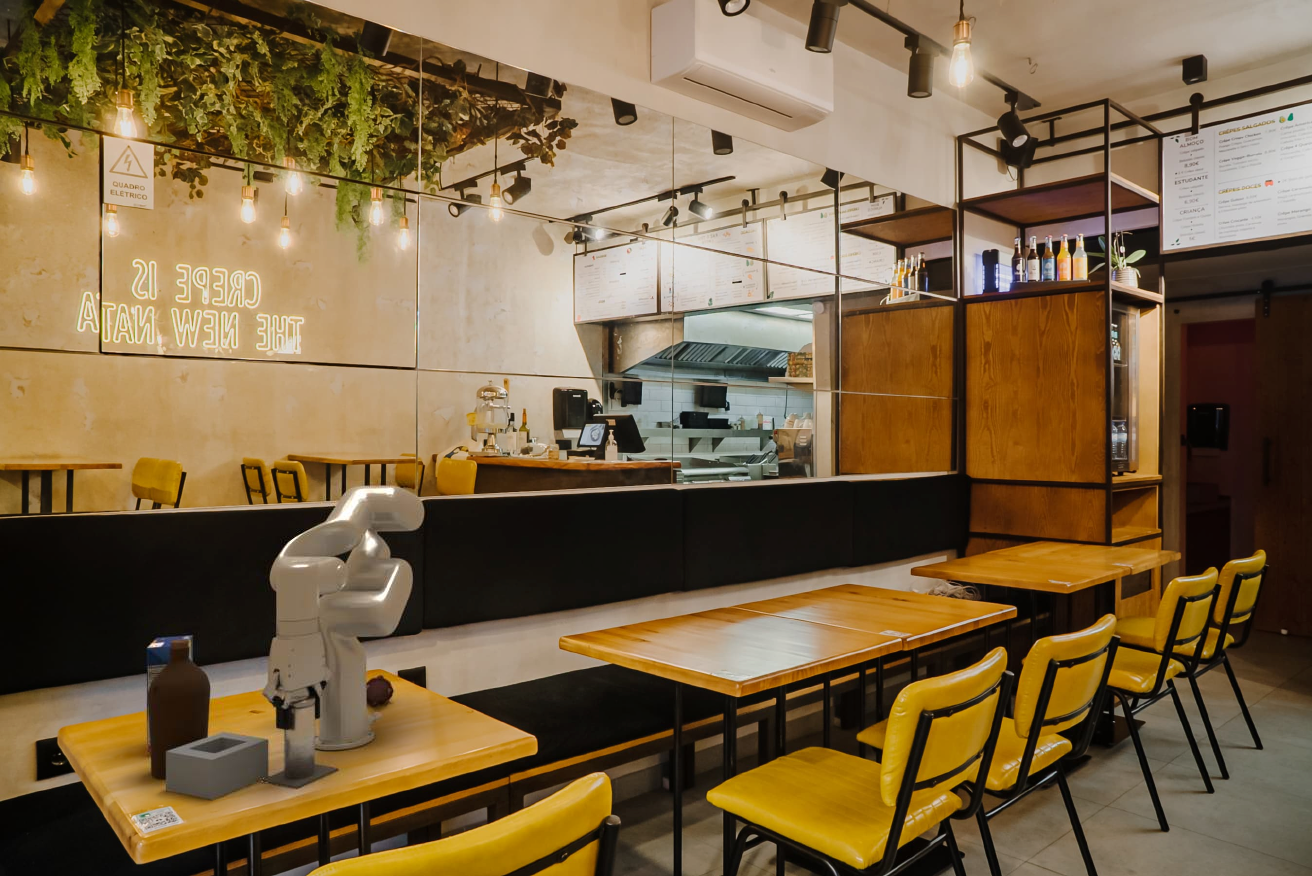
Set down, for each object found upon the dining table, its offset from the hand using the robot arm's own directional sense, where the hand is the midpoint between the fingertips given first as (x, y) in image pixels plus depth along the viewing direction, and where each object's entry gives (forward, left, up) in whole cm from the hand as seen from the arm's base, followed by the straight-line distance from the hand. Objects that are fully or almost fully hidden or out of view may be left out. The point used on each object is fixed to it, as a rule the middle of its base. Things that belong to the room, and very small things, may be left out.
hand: (298, 722), depth 160 cm
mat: (0, 0, -10) cm, 10 cm away
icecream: (-44, -20, -10) cm, 49 cm away
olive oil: (+6, -24, -10) cm, 27 cm away
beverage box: (-3, -39, -10) cm, 41 cm away
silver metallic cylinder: (0, 0, -10) cm, 10 cm away
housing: (+8, -11, -10) cm, 17 cm away
